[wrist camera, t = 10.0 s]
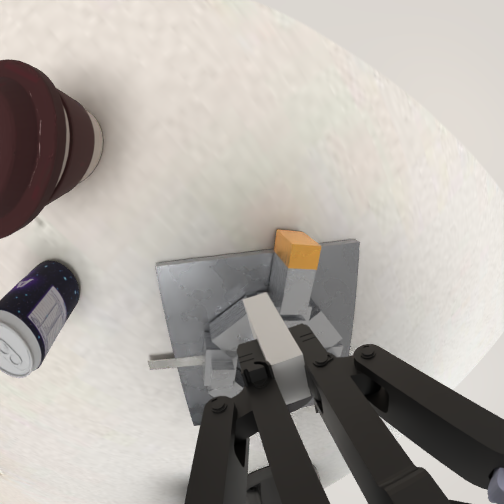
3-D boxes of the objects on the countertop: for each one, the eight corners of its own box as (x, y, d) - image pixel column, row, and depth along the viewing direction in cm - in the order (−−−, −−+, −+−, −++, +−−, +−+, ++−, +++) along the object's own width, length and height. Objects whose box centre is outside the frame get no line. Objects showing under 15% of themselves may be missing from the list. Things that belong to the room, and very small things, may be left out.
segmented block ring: (200, 397, 33) (203, 426, 28) (213, 224, 27) (217, 239, 22) (313, 391, 36) (326, 416, 31) (355, 236, 30) (380, 251, 25)
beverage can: (55, 246, 25) (-8, 301, 14) (92, 288, 27) (49, 361, 16) (26, 279, 26) (-32, 341, 14) (62, 318, 28) (19, 392, 17)
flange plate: (339, 392, 38) (363, 432, 31) (171, 422, 35) (172, 470, 27) (355, 222, 31) (401, 245, 23) (122, 248, 27) (100, 284, 19)
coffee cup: (15, 183, 23) (-90, 219, 9) (46, 85, 20) (-53, 49, 6) (98, 213, 25) (19, 277, 11) (135, 108, 23) (74, 65, 9)
